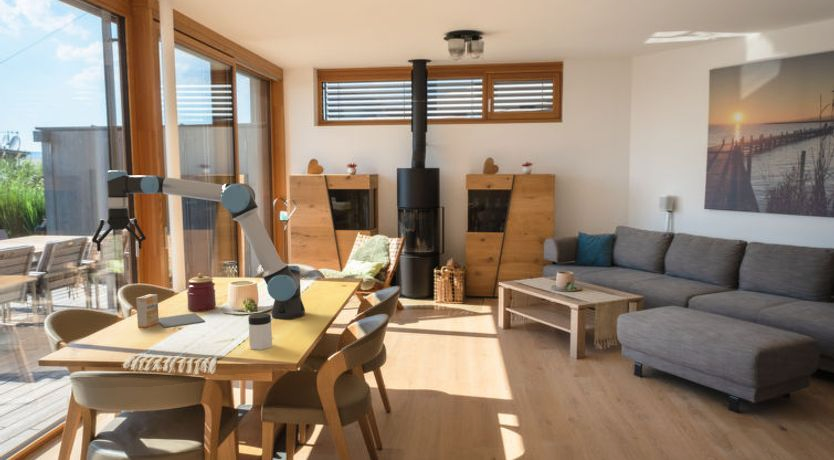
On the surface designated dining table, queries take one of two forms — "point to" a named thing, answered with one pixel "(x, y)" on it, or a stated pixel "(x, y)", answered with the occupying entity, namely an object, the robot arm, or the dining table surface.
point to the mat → (180, 320)
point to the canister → (201, 293)
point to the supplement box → (147, 310)
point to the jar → (260, 331)
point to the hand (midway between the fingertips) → (119, 257)
